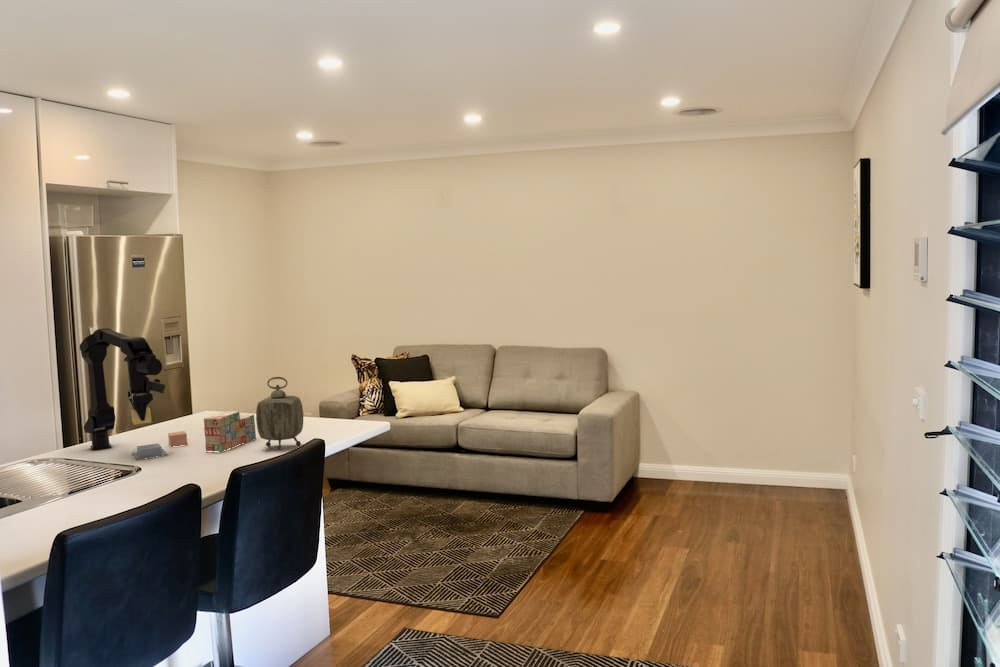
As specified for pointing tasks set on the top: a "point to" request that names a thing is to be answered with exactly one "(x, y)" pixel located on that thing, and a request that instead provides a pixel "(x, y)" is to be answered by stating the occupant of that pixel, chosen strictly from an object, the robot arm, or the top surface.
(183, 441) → the terracotta brick
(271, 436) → the tabletop clock
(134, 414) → the mustard brick
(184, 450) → the top surface
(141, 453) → the baseplate
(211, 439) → the stack of blocks
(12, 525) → the top surface
